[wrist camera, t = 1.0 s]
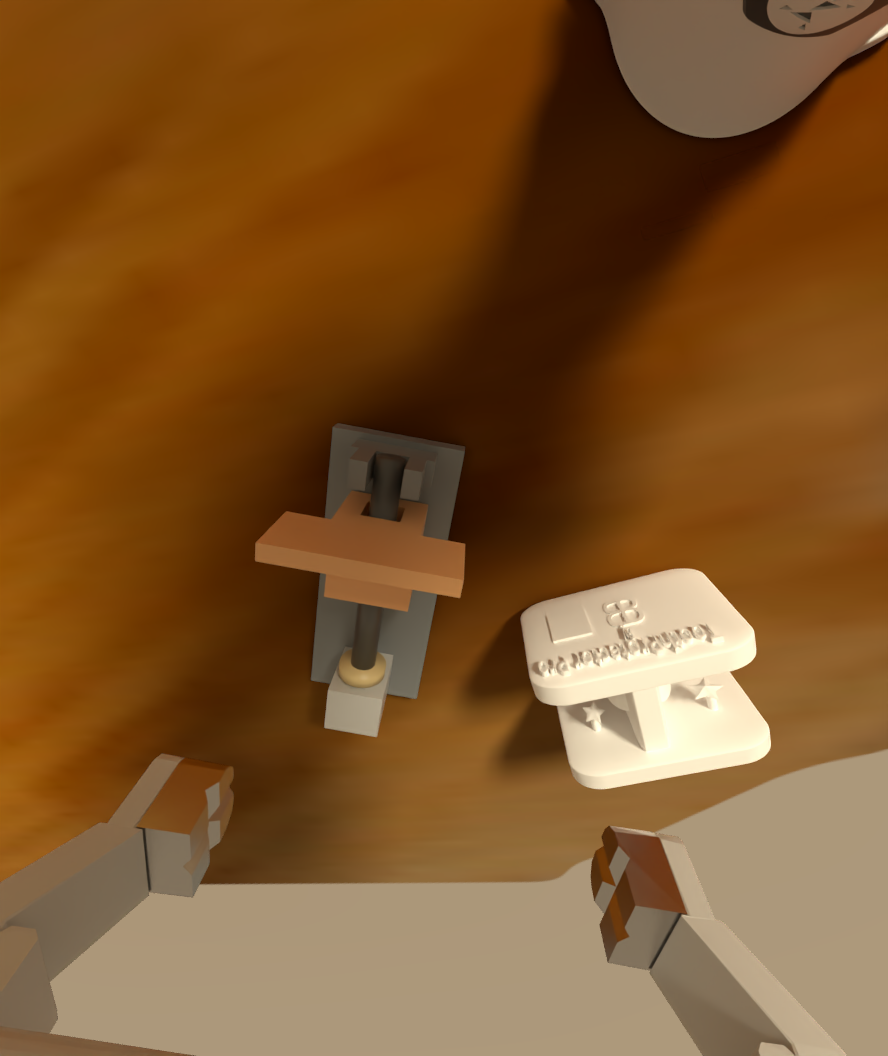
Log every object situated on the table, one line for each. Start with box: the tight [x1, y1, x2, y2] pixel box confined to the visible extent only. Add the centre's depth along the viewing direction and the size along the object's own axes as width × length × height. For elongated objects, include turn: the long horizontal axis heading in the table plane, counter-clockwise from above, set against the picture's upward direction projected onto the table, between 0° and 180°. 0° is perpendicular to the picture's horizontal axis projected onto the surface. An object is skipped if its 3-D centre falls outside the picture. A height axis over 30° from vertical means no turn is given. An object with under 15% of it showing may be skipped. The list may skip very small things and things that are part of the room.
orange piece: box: [255, 491, 465, 612], centre depth 35 cm, size 6×12×11 cm, turn 80°
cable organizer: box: [520, 569, 771, 789], centre depth 39 cm, size 15×11×12 cm
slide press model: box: [311, 423, 465, 737], centre depth 40 cm, size 24×10×7 cm, turn 170°
